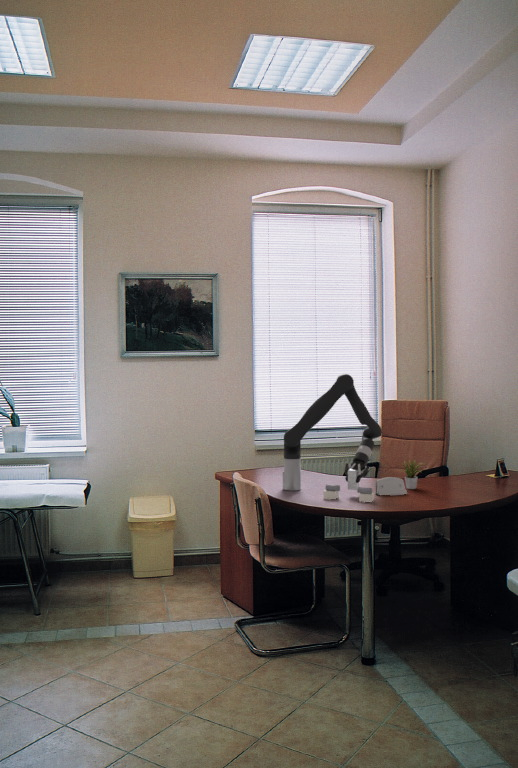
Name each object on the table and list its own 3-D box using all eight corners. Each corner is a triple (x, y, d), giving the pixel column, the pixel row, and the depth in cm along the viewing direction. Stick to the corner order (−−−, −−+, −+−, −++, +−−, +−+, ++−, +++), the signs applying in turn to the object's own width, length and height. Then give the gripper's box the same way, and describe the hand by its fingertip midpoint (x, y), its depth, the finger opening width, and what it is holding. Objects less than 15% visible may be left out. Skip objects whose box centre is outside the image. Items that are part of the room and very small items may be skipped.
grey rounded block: (378, 496, 352) (376, 477, 355) (375, 497, 356) (372, 478, 359) (408, 494, 356) (405, 475, 359) (404, 495, 360) (401, 477, 363)
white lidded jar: (323, 498, 346) (323, 485, 345) (327, 496, 351) (327, 483, 351) (337, 500, 343) (337, 486, 342) (341, 497, 348) (341, 484, 348)
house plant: (425, 491, 363) (425, 461, 362) (399, 490, 365) (399, 460, 365) (424, 486, 377) (424, 457, 376) (399, 485, 379) (399, 457, 379)
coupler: (347, 489, 350) (348, 470, 350) (350, 487, 354) (350, 469, 354) (356, 490, 348) (356, 471, 348) (358, 488, 352) (358, 469, 352)
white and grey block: (356, 501, 338) (356, 487, 338) (359, 499, 344) (359, 485, 343) (370, 503, 335) (370, 489, 335) (374, 500, 340) (374, 486, 340)
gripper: (348, 450, 361) (337, 475, 351) (372, 452, 352) (361, 478, 343) (352, 458, 365) (341, 484, 356) (376, 461, 357) (366, 487, 348)
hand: (351, 481), depth 350 cm, fingers closed on coupler, 5 cm apart
